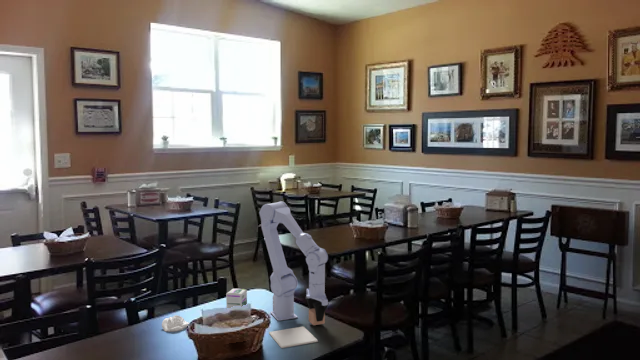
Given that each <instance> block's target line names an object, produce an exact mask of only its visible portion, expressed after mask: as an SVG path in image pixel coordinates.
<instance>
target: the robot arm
mask: <svg viewBox="0 0 640 360" xmlns="http://www.w3.org/2000/svg"><path fill="white" fill-rule="evenodd" d="M258 214H259V217H260V221H261V222H260V223H261V224H260V225H261V231H262V235H263V237H264V242H265V245H266V249H267V252H268V256H269V259H270V263H271V267H272V271H273V272H272V273H271V275H270V276H269V279H270V289H271V290H270V291H271V292H272V293H273V295H272V311H270V314H271V315H272V316H273V317H274V318H275V320H277V321H278V322H280V321H286V320H291V319H297V318H298V316H297V314H295V305H294V304H295V303H294V302H295V299H294V298H295V297H294V296H295V292H296V289H297V287H298V285H299V283H298V278H297V277H296V275H295V274H294V270H293V269H291V268H290V267H288V265H287V261H286V258H285V254H284V251H283V246H282V243H281V239H280V236H279V232H278V230H277V228H278V225H279V224H283V226H285V227H286V229H287V230H288V231H289V232H290V233H291V234H292V236H293V237H294V238H295V244H296V245H297V247H298V248H299V249H300V251H301V252H302V253H303V255H304V256H305V262H306V264H307V267H308V271H309V272H308V288H306V294H305V295H306V296H305V297H304V298H305V301H306V303H307V305H308V310H309V309H314V308H315V312H316V320H317V322H318V321H323V317H324V313H325V314H326V310H327V308H328V307H329V304H330V303H329V300H328V298H327V295H326V293H325V292H326V291H325V290H326V289H325V287H326V286H325V285H326V284H325V283H326V263H327V262H328V260H329V255H328V252H327V250H326V249H325V248H322V247H320V246H319V245H318V244H317V243H316V242H315V240H314V239H313V237H312V235H311V234H309V233H306V232H303V230H302V228H301V227H300V226H299V224H298V223H297V221H296V219H295V218H294V217H293V216H292V215H293V214H292V213H291V208H290V207H289V206H288V204H286V202H284V201H281V200H280V201H278V202H272V203H271V202H270V203H265V204H263V205H262V206H261V208H260V209H259V213H258Z"/></svg>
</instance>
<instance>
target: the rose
mask: <svg viewBox="0 0 640 360" xmlns="http://www.w3.org/2000/svg"><path fill="white" fill-rule="evenodd" d="M188 324H189V325H190V322H188V321H186V320H185V318H183V316H180V315H173V316H169V317H166V318H164V319H163V320H162V322H161V328H162V330H163V331H164V332H169V333H170V332H172V333H173V332H174V333H175V332H180V331H183V330H184V329H186V328H187V326H188V327H189V325H188Z"/></svg>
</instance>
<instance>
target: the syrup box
mask: <svg viewBox="0 0 640 360" xmlns="http://www.w3.org/2000/svg"><path fill="white" fill-rule="evenodd" d="M247 294H248V293H247V289H246V288H231V290H228V292H226V294H225V295H226V296H225V297H226V300H225V302H226V309H227V308H231V307H233V306H241V307H242V306H243V305H246V304H247V305H248V295H247Z"/></svg>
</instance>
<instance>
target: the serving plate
mask: <svg viewBox="0 0 640 360" xmlns="http://www.w3.org/2000/svg"><path fill="white" fill-rule="evenodd" d="M268 333H269V335H270V336H271V338H272V340H274V342H275V343H276V344H277V345H278V346H279V347H280V348H281V349H286V348H291V347H296V346H301V345H307V344H313V343H318V342H319V341H318V339H317V338H316V337H315V335H313V334H312V333H311V332H310V331H309V330H308V329H307V328H306V327H305V326H303V325H302V326H298V327H297V326H296V327H292V328H290V327H289V328H286V329H285V328H284V329H279V330H275V331H274V330H273V331H269V332H268Z"/></svg>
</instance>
